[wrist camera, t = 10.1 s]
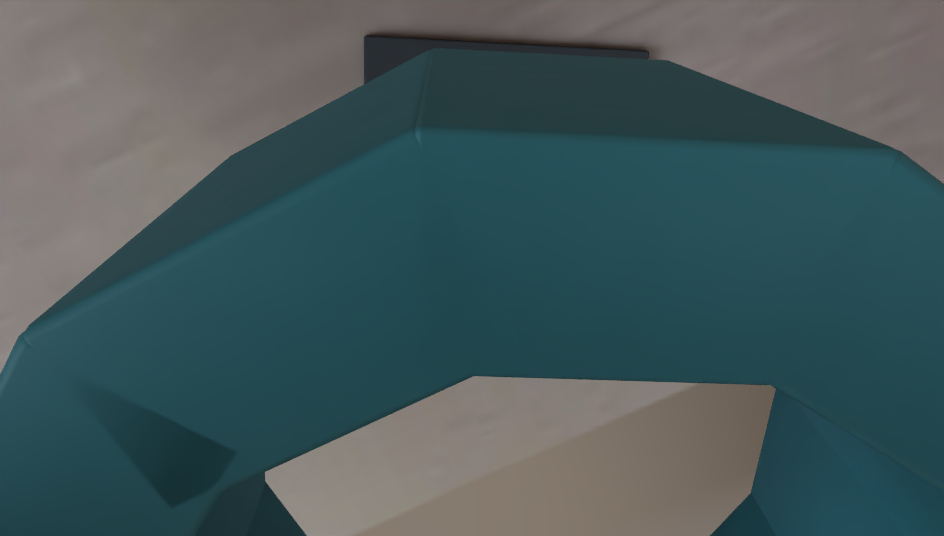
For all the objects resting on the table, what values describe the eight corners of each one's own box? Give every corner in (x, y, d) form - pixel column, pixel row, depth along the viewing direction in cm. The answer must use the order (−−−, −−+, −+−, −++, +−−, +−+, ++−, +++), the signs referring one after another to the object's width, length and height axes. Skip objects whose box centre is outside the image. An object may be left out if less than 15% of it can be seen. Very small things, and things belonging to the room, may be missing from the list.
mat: (365, 295, 29) (364, 299, 29) (365, 35, 26) (364, 36, 25) (611, 304, 30) (613, 308, 29) (646, 50, 26) (650, 51, 26)
